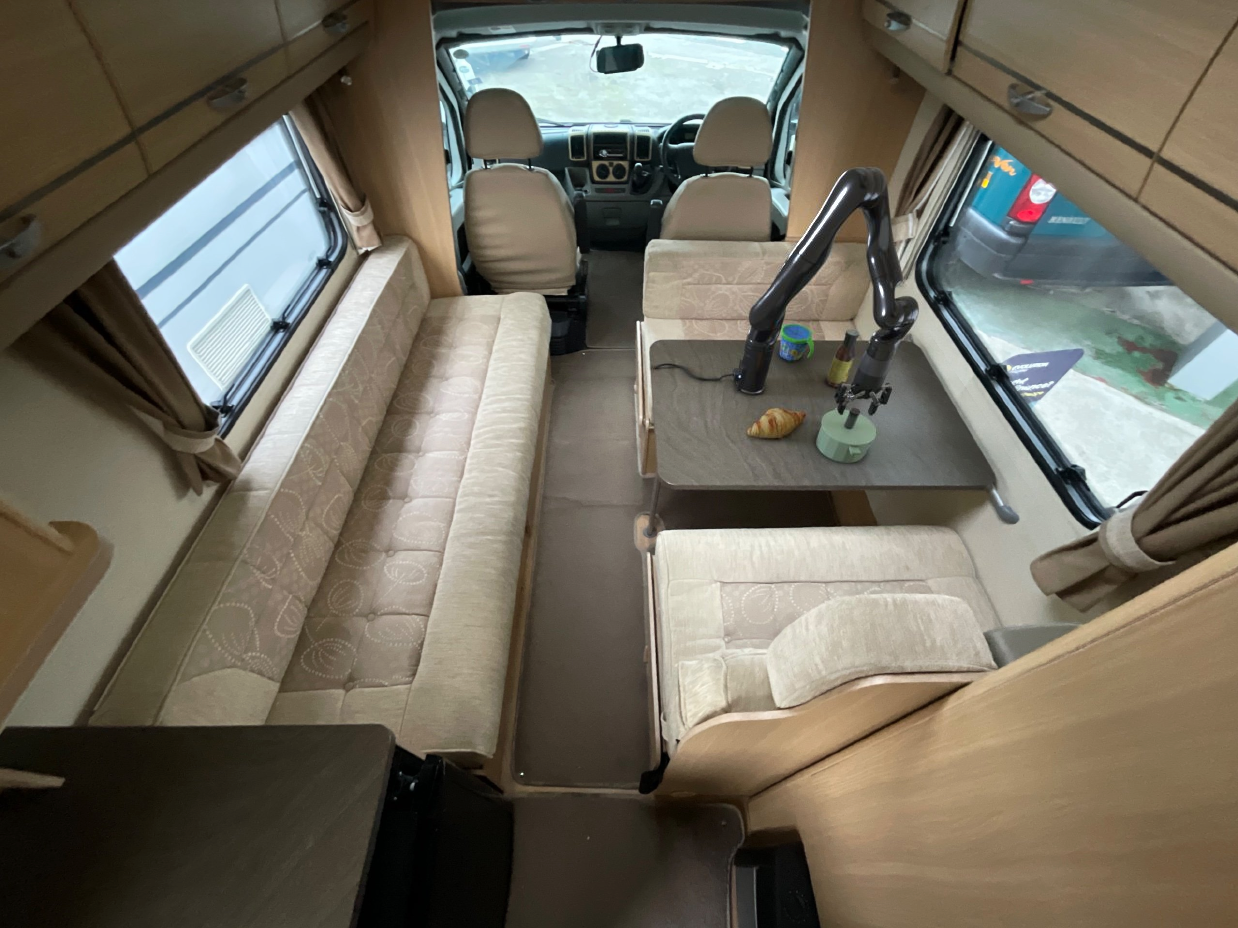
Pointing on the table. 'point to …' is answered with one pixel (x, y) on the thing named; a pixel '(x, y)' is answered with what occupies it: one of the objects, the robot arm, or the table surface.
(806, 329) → the snack cup
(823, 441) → the pot
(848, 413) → the pot lid
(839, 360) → the sauce bottle
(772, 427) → the croissant
